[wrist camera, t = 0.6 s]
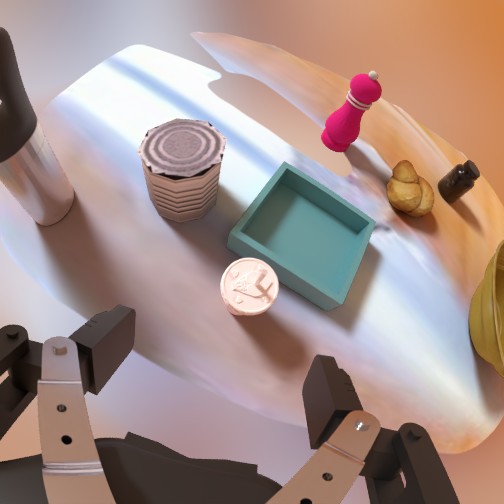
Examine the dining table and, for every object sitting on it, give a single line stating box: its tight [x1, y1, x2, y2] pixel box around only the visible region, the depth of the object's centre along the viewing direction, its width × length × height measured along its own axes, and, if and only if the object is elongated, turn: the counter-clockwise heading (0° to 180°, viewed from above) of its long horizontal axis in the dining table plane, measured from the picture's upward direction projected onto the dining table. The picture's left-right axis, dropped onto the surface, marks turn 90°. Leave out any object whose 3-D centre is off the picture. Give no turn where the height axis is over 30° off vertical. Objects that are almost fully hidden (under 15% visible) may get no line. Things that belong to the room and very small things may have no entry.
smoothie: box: [221, 258, 279, 316], centre depth 32 cm, size 6×6×14 cm
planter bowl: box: [469, 240, 504, 378], centre depth 40 cm, size 32×32×13 cm
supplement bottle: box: [438, 160, 480, 203], centre depth 53 cm, size 7×7×12 cm
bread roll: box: [387, 160, 434, 217], centre depth 49 cm, size 13×10×8 cm
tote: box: [226, 161, 376, 311], centre depth 42 cm, size 18×16×5 cm
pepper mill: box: [321, 71, 382, 152], centre depth 46 cm, size 7×7×20 cm
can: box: [137, 119, 227, 223], centre depth 38 cm, size 11×11×12 cm
